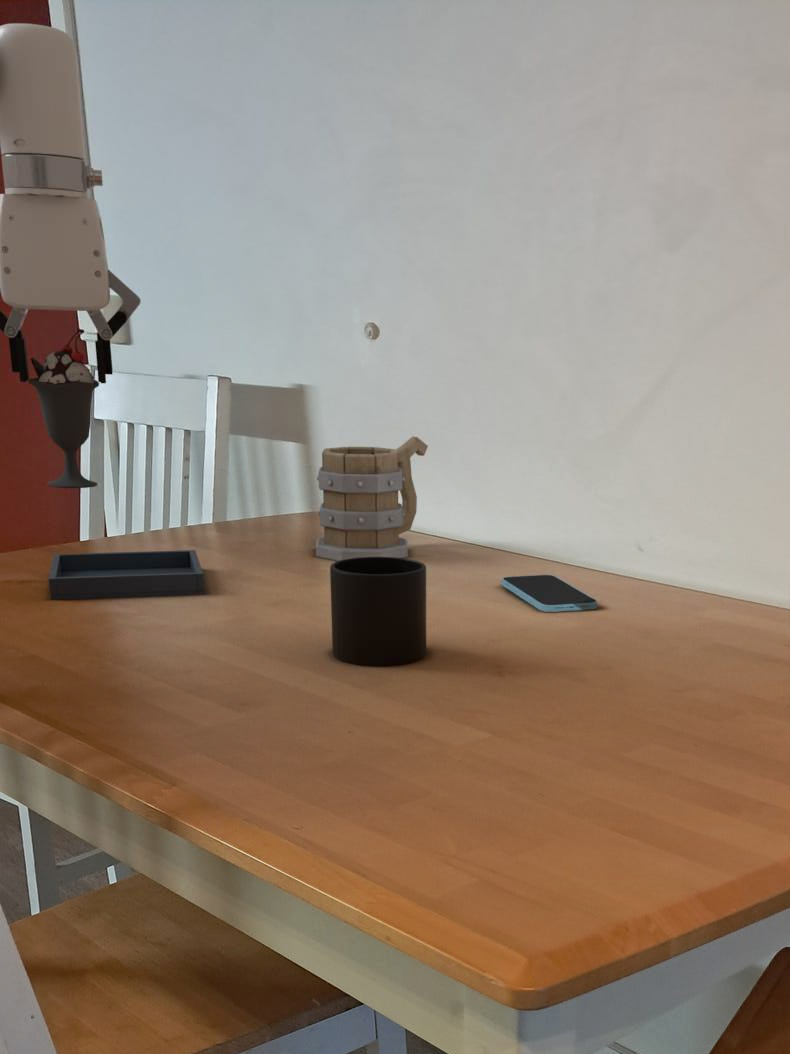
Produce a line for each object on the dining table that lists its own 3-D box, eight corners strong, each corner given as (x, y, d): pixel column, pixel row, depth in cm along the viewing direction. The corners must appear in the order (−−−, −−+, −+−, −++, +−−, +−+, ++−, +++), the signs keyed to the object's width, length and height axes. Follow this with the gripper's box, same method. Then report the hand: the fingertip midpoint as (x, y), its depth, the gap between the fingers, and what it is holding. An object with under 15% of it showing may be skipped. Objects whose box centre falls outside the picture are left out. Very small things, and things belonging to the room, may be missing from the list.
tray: (51, 601, 148) (48, 578, 147) (55, 574, 162) (53, 554, 161) (204, 595, 152) (203, 573, 151) (196, 570, 166) (195, 549, 165)
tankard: (361, 567, 170) (359, 450, 164) (297, 554, 177) (293, 441, 171) (460, 548, 184) (461, 439, 178) (397, 537, 191) (396, 432, 185)
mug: (408, 636, 136) (408, 550, 132) (436, 664, 125) (436, 572, 122) (321, 640, 134) (318, 553, 130) (341, 670, 123) (339, 576, 119)
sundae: (119, 486, 131) (108, 329, 125) (59, 491, 127) (45, 328, 121) (85, 479, 135) (73, 327, 130) (26, 483, 131) (11, 325, 125)
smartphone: (543, 605, 146) (498, 577, 159) (543, 615, 147) (498, 585, 159) (600, 602, 148) (552, 574, 161) (600, 611, 149) (551, 582, 162)
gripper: (139, 189, 126) (152, 381, 133) (-48, 178, 121) (-25, 377, 128) (141, 183, 119) (154, 386, 126) (-58, 171, 115) (-33, 382, 122)
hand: (63, 380), depth 127 cm, fingers closed on sundae, 6 cm apart
